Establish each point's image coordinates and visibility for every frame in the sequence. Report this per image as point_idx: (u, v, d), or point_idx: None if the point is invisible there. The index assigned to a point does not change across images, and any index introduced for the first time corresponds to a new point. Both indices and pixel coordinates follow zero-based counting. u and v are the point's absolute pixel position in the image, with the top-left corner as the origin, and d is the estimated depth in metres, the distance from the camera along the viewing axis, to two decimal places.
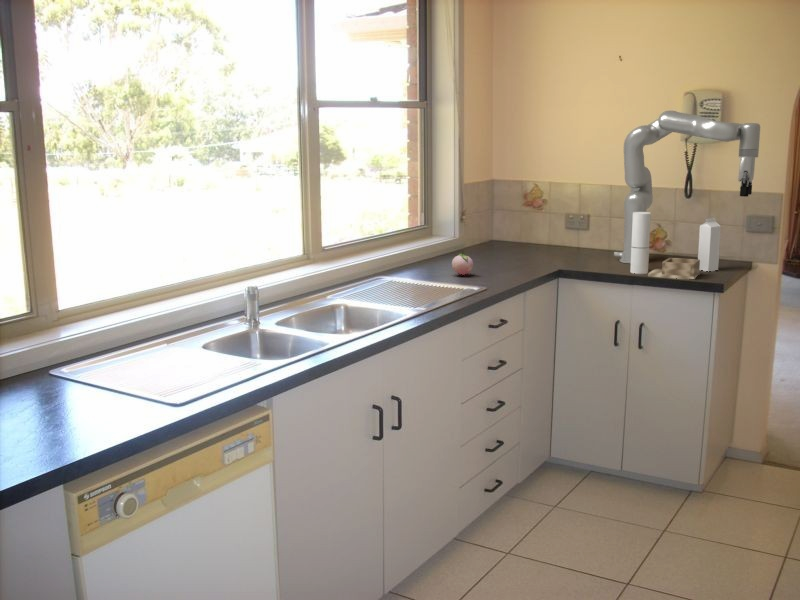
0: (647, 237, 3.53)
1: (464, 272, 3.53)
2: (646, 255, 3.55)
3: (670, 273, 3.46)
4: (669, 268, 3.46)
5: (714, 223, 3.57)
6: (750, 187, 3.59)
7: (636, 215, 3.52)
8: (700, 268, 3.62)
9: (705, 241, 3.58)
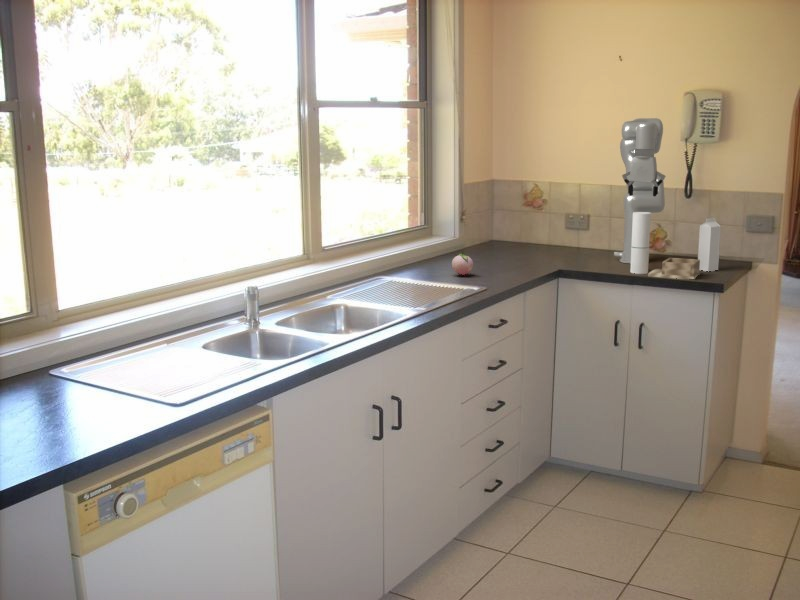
0: (647, 237, 3.53)
1: (464, 272, 3.53)
2: (646, 255, 3.55)
3: (670, 273, 3.46)
4: (669, 268, 3.46)
5: (714, 223, 3.57)
6: (632, 188, 3.55)
7: (636, 215, 3.52)
8: (700, 268, 3.62)
9: (705, 241, 3.58)
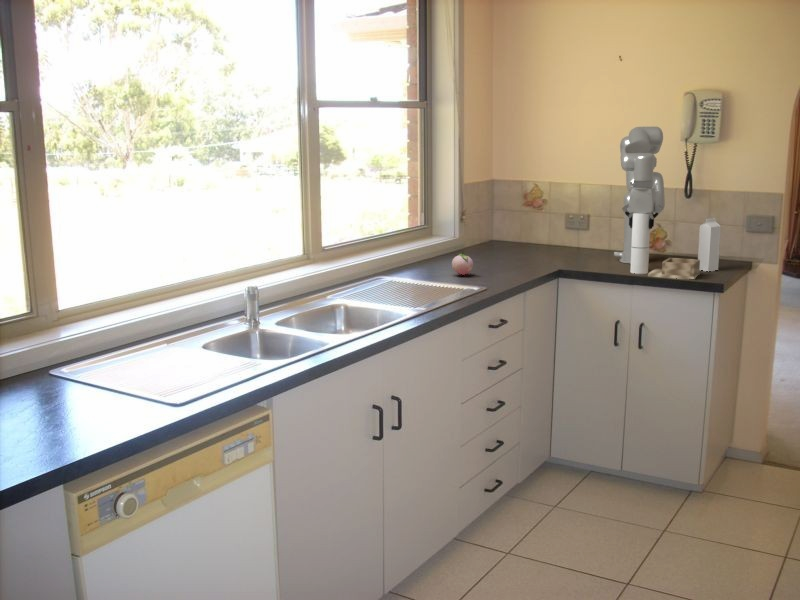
0: (647, 237, 3.53)
1: (464, 272, 3.53)
2: (646, 255, 3.55)
3: (670, 273, 3.46)
4: (669, 268, 3.46)
5: (714, 223, 3.57)
6: None
7: (636, 215, 3.52)
8: (700, 268, 3.62)
9: (705, 241, 3.58)
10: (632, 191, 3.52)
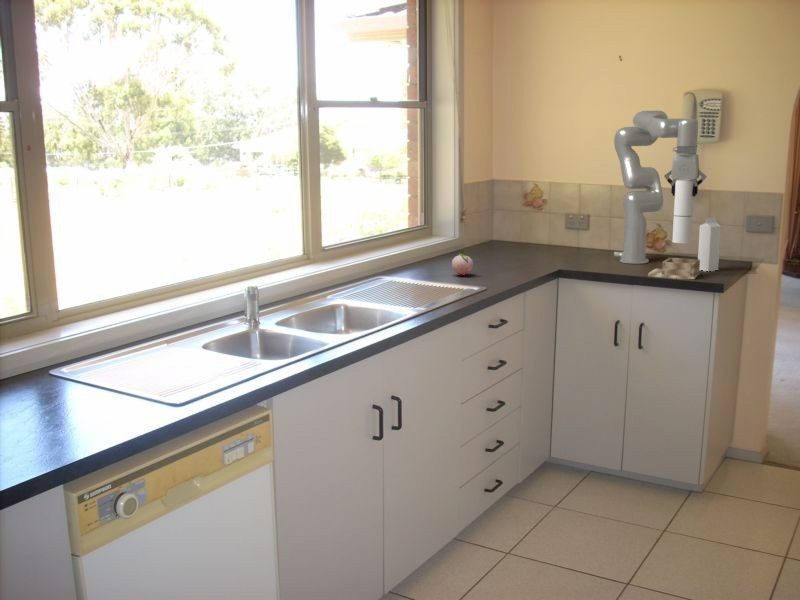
0: (690, 205, 3.41)
1: (464, 272, 3.53)
2: (689, 224, 3.43)
3: (670, 273, 3.46)
4: (669, 268, 3.46)
5: (714, 223, 3.57)
6: None
7: (679, 182, 3.40)
8: (700, 268, 3.62)
9: (705, 241, 3.58)
10: (675, 157, 3.40)
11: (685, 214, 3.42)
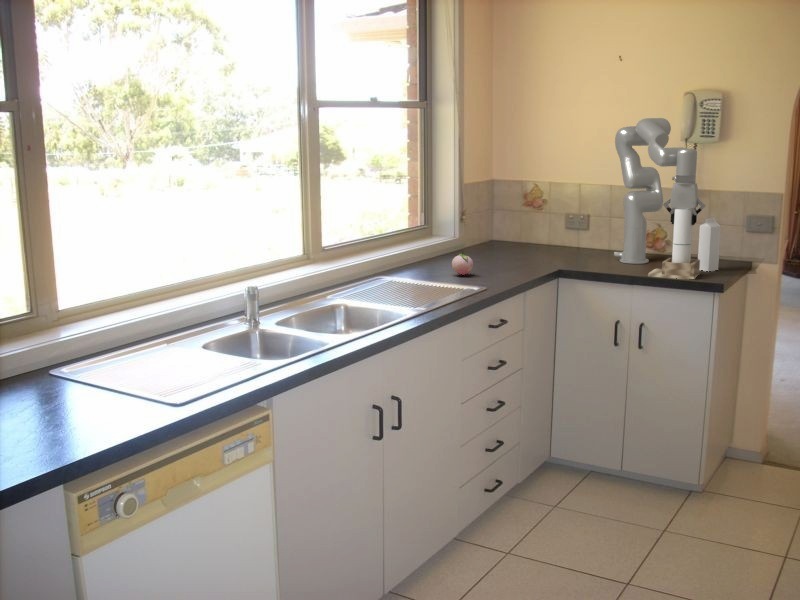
0: (690, 233, 3.44)
1: (464, 272, 3.53)
2: (688, 252, 3.45)
3: (670, 273, 3.46)
4: (669, 268, 3.46)
5: (714, 223, 3.57)
6: None
7: (678, 211, 3.42)
8: (700, 268, 3.62)
9: (705, 241, 3.58)
10: (674, 186, 3.42)
11: (684, 243, 3.44)
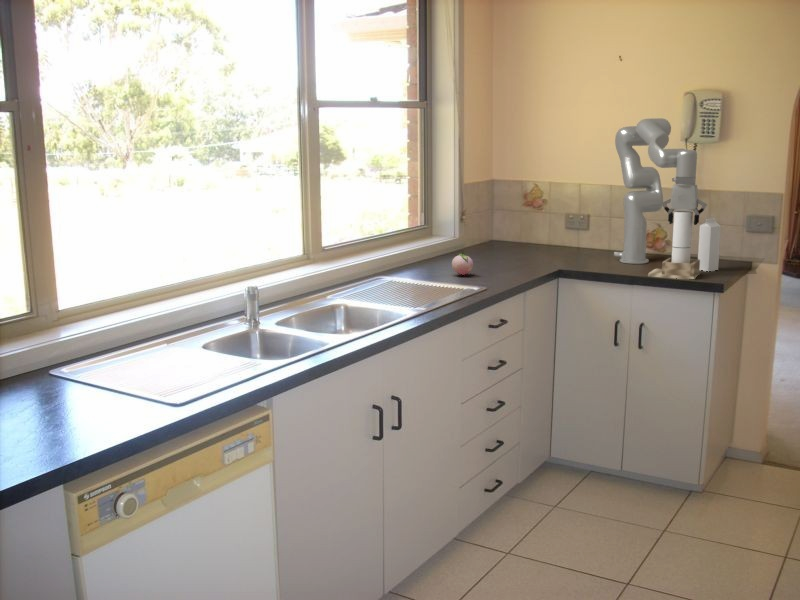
0: (689, 237, 3.44)
1: (464, 272, 3.53)
2: (688, 255, 3.46)
3: (670, 273, 3.46)
4: (669, 268, 3.46)
5: (714, 223, 3.57)
6: (672, 215, 3.48)
7: (678, 214, 3.43)
8: (700, 268, 3.62)
9: (705, 241, 3.58)
10: (674, 188, 3.42)
11: (684, 246, 3.44)
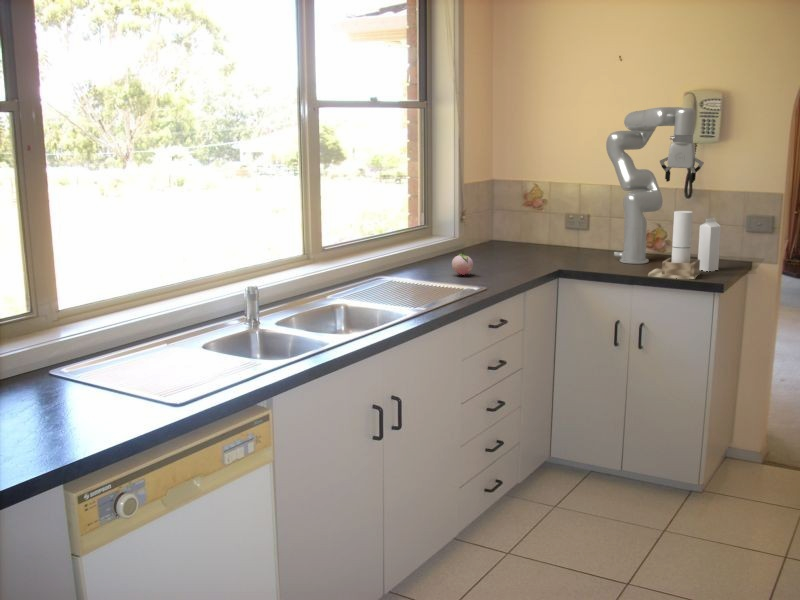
0: (689, 237, 3.44)
1: (464, 272, 3.53)
2: (688, 255, 3.46)
3: (670, 273, 3.46)
4: (669, 268, 3.46)
5: (714, 223, 3.57)
6: (669, 173, 3.53)
7: (678, 214, 3.43)
8: (700, 268, 3.62)
9: (705, 241, 3.58)
10: (672, 145, 3.47)
11: (684, 246, 3.44)
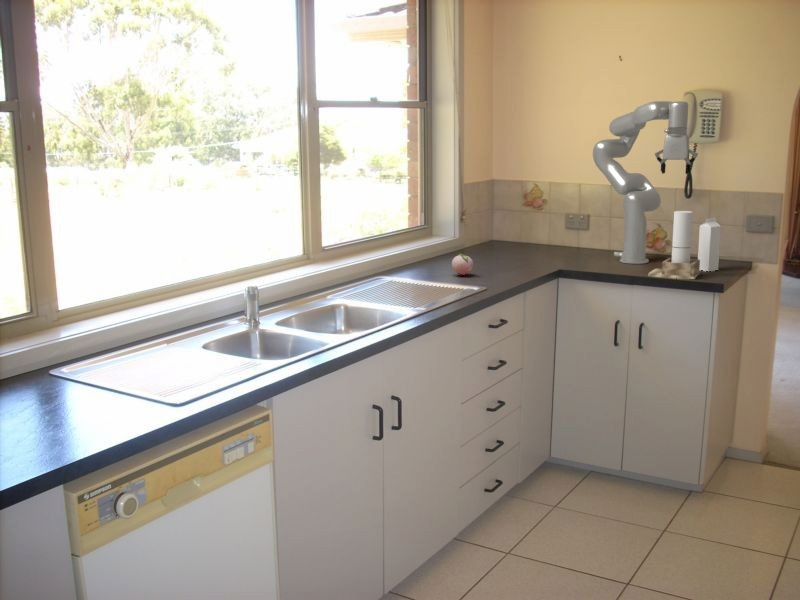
0: (689, 237, 3.44)
1: (464, 272, 3.53)
2: (688, 255, 3.46)
3: (670, 273, 3.46)
4: (669, 268, 3.46)
5: (714, 223, 3.57)
6: (665, 166, 3.62)
7: (678, 214, 3.43)
8: (700, 268, 3.62)
9: (705, 241, 3.58)
10: (666, 138, 3.56)
11: (684, 246, 3.44)
